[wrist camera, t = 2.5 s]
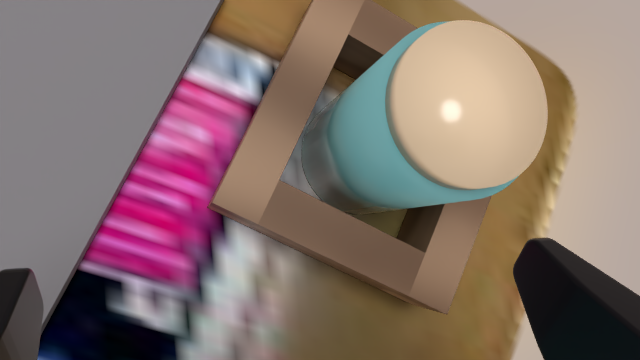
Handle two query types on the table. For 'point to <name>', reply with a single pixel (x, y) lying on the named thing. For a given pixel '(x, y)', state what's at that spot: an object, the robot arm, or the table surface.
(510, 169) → the teal jar
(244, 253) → the table surface
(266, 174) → the walnut frame
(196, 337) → the table surface
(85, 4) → the gray rectangular panel
